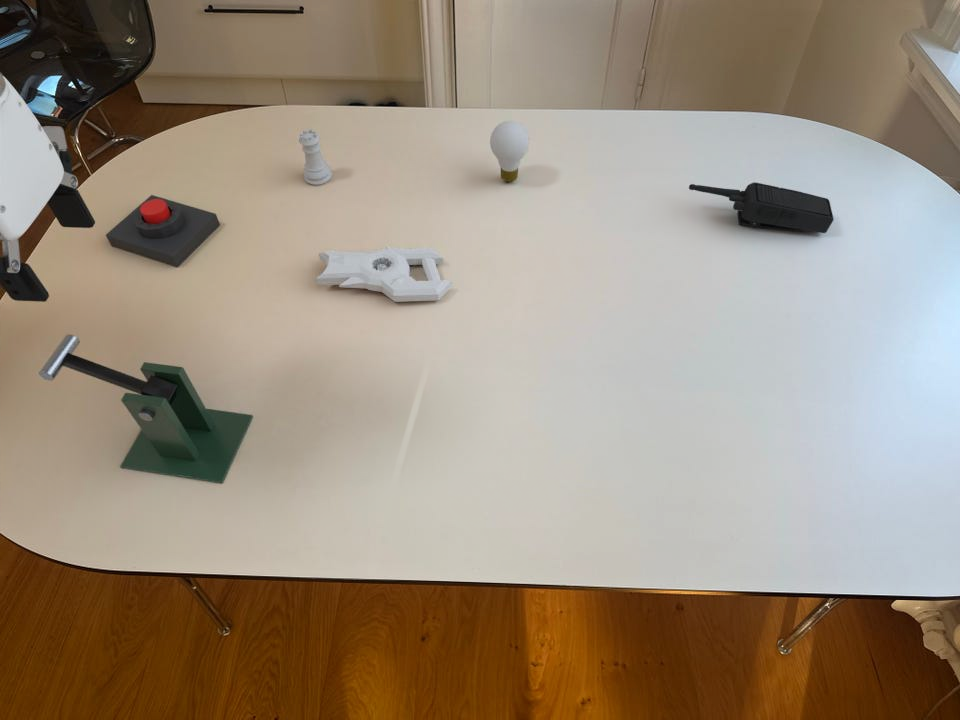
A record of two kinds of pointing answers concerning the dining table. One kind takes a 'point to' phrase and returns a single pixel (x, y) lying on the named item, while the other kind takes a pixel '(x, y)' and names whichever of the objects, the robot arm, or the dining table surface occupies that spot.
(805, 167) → the dining table surface
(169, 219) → the button box
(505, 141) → the light bulb
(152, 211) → the stop button
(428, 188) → the dining table surface
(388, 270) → the gun
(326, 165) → the rook chess piece
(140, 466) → the bracket
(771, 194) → the walkie-talkie
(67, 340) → the switch lever
